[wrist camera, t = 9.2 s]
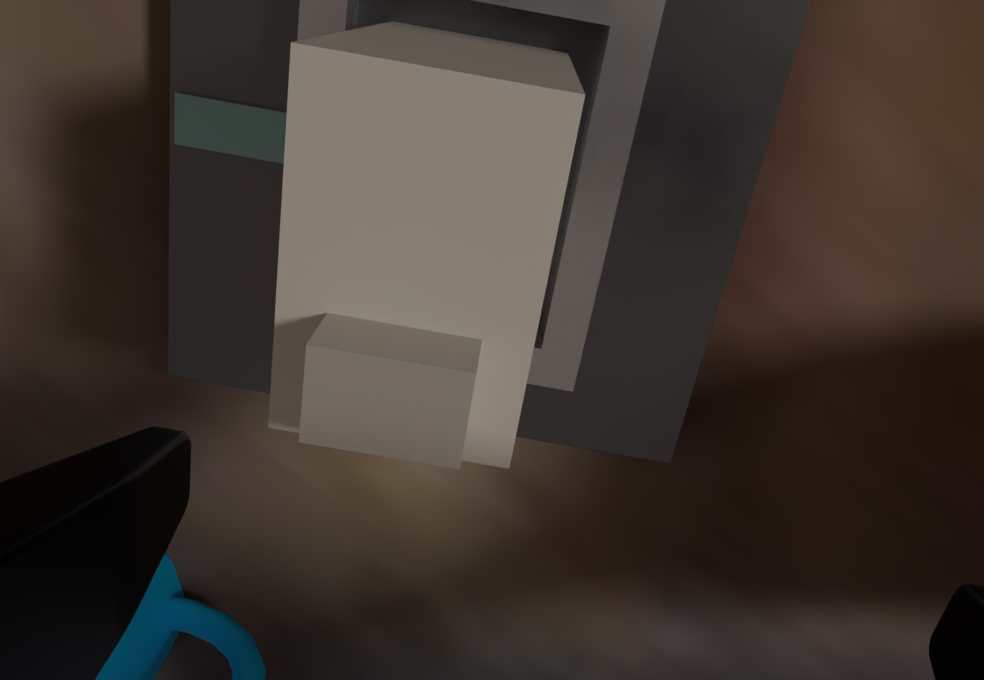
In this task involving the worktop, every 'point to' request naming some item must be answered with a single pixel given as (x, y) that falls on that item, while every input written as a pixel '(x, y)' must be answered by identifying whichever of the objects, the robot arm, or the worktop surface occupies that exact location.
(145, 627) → the mug
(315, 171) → the plug
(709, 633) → the worktop surface
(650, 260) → the patch board
